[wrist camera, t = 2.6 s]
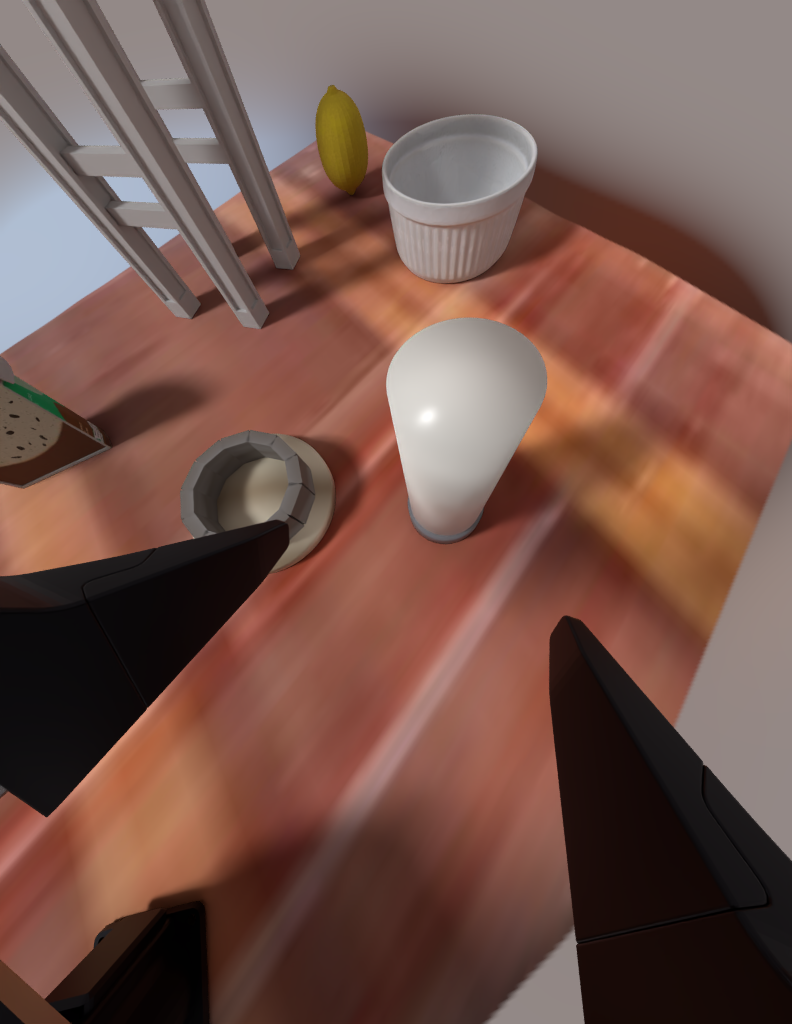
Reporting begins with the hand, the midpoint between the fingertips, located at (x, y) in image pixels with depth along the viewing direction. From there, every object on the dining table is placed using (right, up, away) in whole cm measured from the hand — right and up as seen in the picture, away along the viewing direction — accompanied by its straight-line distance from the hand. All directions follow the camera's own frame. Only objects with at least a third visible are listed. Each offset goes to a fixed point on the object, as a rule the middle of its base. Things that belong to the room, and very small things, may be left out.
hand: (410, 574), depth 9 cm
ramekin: (+6, +30, +22) cm, 38 cm away
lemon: (-6, +42, +27) cm, 50 cm away
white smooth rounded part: (+3, +2, +13) cm, 14 cm away
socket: (-11, +3, +15) cm, 19 cm away
